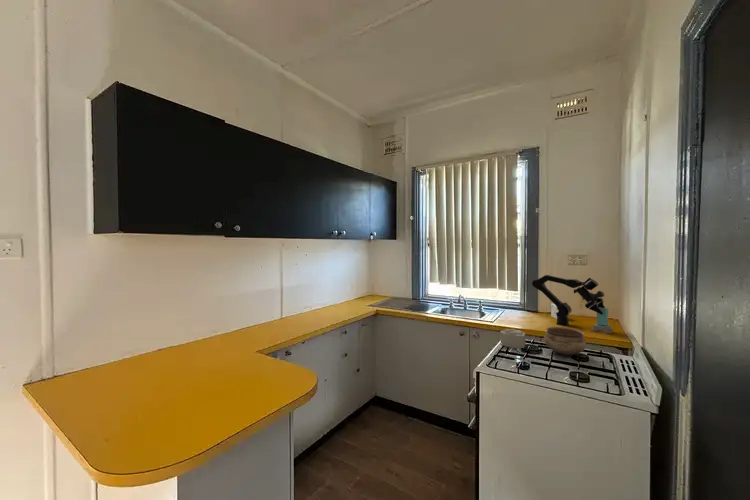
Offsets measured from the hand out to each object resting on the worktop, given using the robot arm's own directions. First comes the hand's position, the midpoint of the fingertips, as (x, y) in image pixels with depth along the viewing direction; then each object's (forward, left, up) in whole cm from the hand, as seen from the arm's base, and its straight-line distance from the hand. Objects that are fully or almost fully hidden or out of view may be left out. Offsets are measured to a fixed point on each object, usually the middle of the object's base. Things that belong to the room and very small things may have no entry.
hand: (604, 313), depth 205 cm
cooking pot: (+1, -65, -13) cm, 67 cm away
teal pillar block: (-1, 0, -8) cm, 8 cm away
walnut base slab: (-1, 0, -13) cm, 13 cm away
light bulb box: (-35, +17, -13) cm, 41 cm away
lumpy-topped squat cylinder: (-23, -73, -13) cm, 78 cm away
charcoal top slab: (-2, 0, -11) cm, 11 cm away
